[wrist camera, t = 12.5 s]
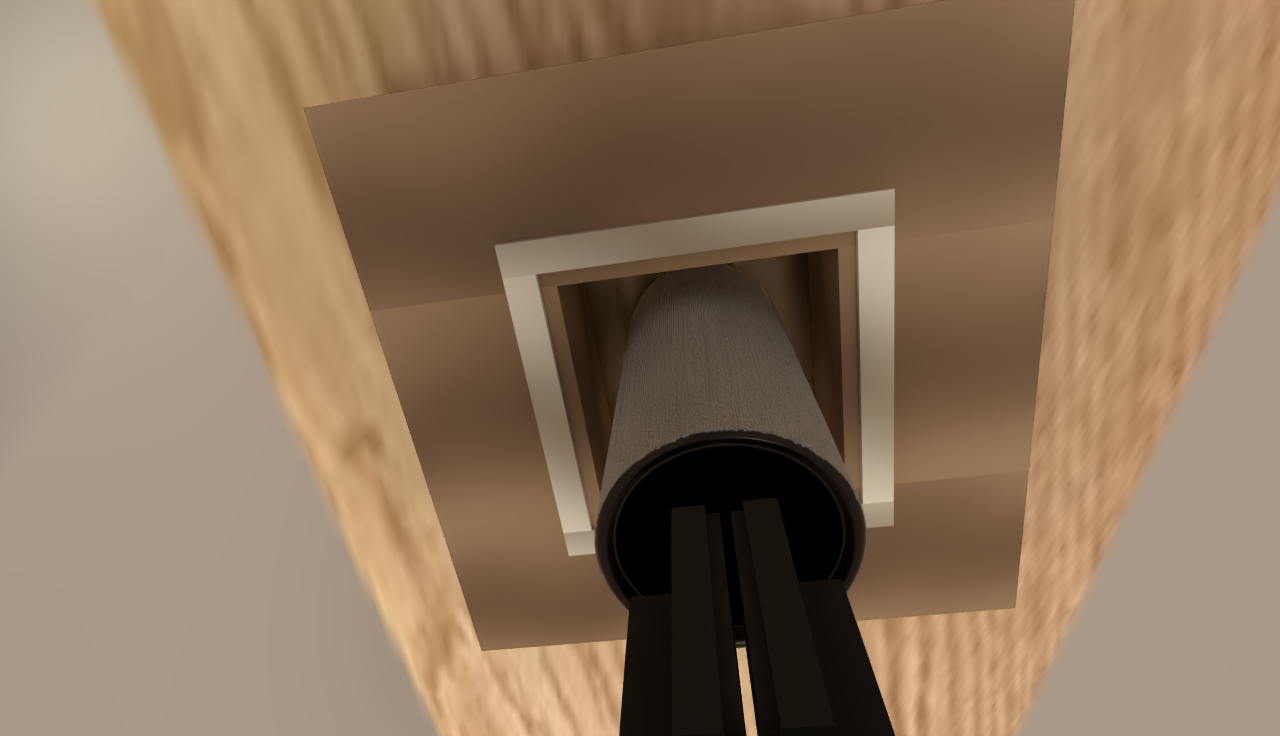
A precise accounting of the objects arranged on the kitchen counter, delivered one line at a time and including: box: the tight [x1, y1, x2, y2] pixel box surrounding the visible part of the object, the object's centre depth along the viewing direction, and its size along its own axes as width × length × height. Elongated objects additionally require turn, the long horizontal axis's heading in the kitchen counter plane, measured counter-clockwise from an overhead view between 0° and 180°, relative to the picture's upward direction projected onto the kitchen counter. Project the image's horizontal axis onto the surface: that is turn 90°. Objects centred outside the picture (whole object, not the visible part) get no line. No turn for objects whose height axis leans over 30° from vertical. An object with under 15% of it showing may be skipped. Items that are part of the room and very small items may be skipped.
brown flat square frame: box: [304, 0, 1075, 651], centre depth 18 cm, size 16×16×4 cm
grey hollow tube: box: [594, 264, 867, 648], centre depth 16 cm, size 4×4×10 cm
